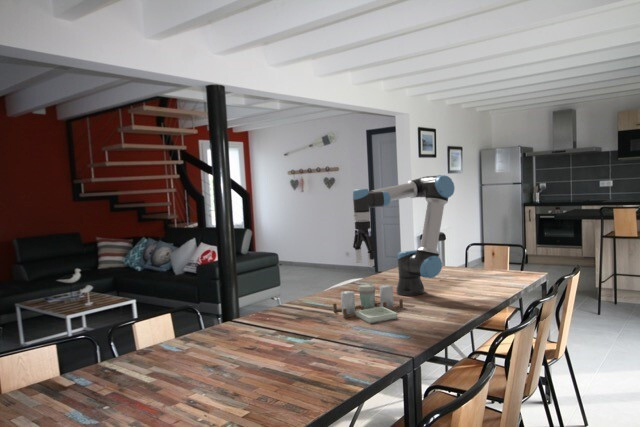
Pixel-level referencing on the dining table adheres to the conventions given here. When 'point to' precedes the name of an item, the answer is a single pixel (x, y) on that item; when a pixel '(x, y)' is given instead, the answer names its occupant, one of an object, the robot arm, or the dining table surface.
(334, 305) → the rack
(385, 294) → the white rounded block
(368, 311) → the tray
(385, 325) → the dining table surface
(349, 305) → the white rounded capsule
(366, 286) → the coffee cup
